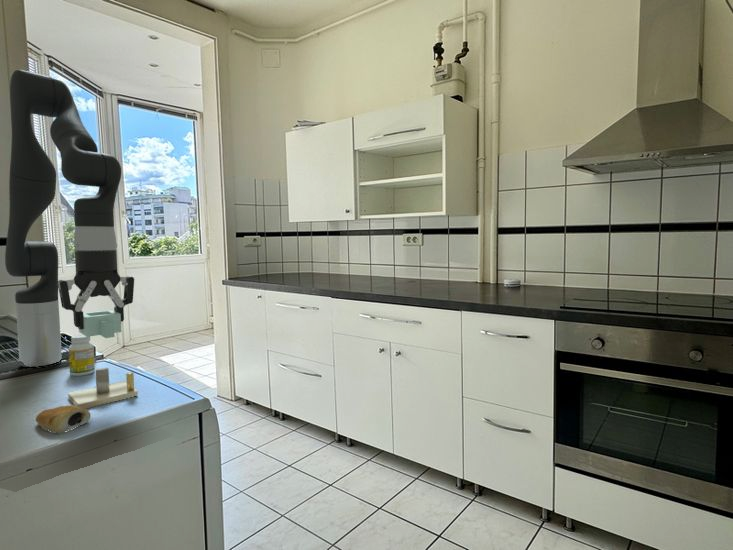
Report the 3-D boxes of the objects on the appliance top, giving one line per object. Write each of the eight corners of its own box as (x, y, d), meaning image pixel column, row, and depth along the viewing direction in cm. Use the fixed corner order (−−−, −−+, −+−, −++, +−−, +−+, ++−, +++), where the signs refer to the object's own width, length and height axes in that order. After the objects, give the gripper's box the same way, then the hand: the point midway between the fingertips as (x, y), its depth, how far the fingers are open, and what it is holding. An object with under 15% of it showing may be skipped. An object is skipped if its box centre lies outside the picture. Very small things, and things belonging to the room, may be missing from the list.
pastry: (24, 428, 79) (23, 408, 79) (61, 415, 85) (60, 396, 85) (60, 437, 76) (59, 416, 75) (96, 422, 82) (95, 402, 82)
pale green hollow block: (79, 331, 93) (78, 313, 92) (112, 327, 97) (111, 309, 97) (91, 340, 85) (90, 320, 85) (127, 335, 90) (126, 316, 89)
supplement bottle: (94, 374, 109) (92, 337, 108) (68, 377, 107) (66, 339, 106) (95, 368, 114) (94, 332, 113) (71, 371, 111) (69, 334, 111)
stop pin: (126, 390, 95) (125, 373, 94) (133, 388, 96) (132, 372, 95) (128, 391, 94) (127, 374, 94) (135, 390, 95) (134, 373, 95)
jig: (68, 398, 93) (66, 370, 93) (124, 386, 101) (123, 360, 100) (78, 410, 87) (77, 380, 86) (137, 396, 95) (136, 368, 94)
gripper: (127, 247, 99) (130, 319, 100) (50, 248, 89) (55, 328, 90) (138, 248, 94) (141, 324, 95) (58, 249, 83) (63, 334, 85)
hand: (99, 326), depth 92 cm, fingers closed on pale green hollow block, 6 cm apart
